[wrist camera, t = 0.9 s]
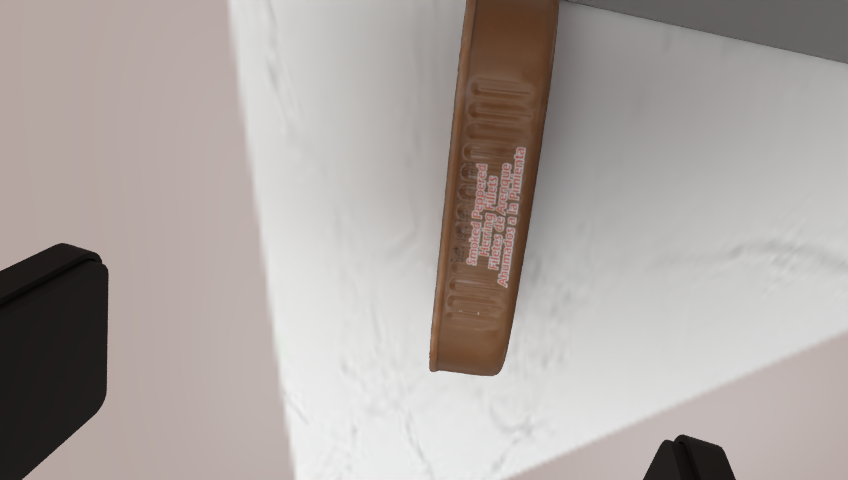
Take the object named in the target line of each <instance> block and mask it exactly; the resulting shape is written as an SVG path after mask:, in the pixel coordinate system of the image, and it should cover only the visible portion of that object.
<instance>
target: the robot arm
mask: <svg viewBox="0 0 848 480" xmlns="http://www.w3.org/2000/svg"><path fill="white" fill-rule="evenodd" d="M107 333H108V269H107V267H106V266H105V265H104V264H102V260H101V258H100V256H99V255H98V254H97V253H95V252H92V251H89V250H85V249H82V248H79V247H76V246H73V245H69V244H65V243H60V244H57V245H54V246H52V247H50V248H48V249H46V250H44V251H42V252H39V253H38V254H35V255H33V256H31V257H29V258H27V259H25V260H23V261H21V262H18V263H16V264H14V265H12V266H10V267H8V268H6V269H4V270H2V271H0V480H22V479H23V478H24V477H25V476H26V475H28V474H29V473H30V472H31V471H32V470H33V469H34V468H35V467H37V466H38V465H39V464H40V463H41V462H42V461H43V460H44V459H46V458H47V457H48V456H49V455H50V454H51V453H52V452H53V451H55V450H56V449H57V448H58V447H59V446H60V445H61V444H62V443H63V442H65V440H67V439H68V438H69V437H70V436H71V435H72V434H73V433H75V432H76V431H77V430H78V429H79V428H80V427H81V426H83V425H84V424H85V423H86V422H87V421H88V420H89V419H90V418H92V417H93V416H94V415H95V414H96V413H97V412H98V410H99V409H100V407H101V406H102V404H103V402H104V400H105V397H106V391H107V335H108V334H107ZM643 480H736V479H735V477H734V474H733V472H732V469H731V467H730V464H729V462H728V459H727V457H726V454H725V452H724V450H723V449H722V447H720V446H718V445H715V444H712V443H709V442H705V441H702V440H699V439H696V438H693V437H689V436H686V435H679V436H678V437H677V438H676V439H675V440H674V442H673V441H670V440H664V441H663V442H662V444H661V445H660V447H659V449H658V451H657V453H656V455H655V457H654V459H653V461H652V463H651V465H650V467H649V469H648V471H647V473H646V475H645V477H644V479H643Z"/></svg>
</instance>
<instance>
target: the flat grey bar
mask: <svg viewBox="0 0 848 480" xmlns="http://www.w3.org/2000/svg"><path fill="white" fill-rule="evenodd" d="M566 1H571V2H575V3H579V4H584V5H588V6H593V7H597V8H602V9H606V10H611V11H615V12H620V13H624V14H629V15H633V16H638V17H642V18H646V19H651V20H655V21H660V22H664V23H669V24H673V25H678V26H682V27H687V28H691V29H696V30H700V31H705V32H709V33H713V34H718V35H722V36H727V37H731V38H736V39H740V40H745V41H749V42H754V43H758V44H763V45H767V46H771V47H776V48H780V49H785V50H789V51H794V52H798V53H803V54H807V55H812V56H816V57H821V58H825V59H830V60H834V61H838V62H843V63H847V64H848V0H566Z"/></svg>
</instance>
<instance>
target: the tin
mask: <svg viewBox="0 0 848 480" xmlns="http://www.w3.org/2000/svg"><path fill="white" fill-rule="evenodd" d="M558 10H559V0H467V1H466V10H465V16H464V23H463V31H462V39H461V50H460V55H459V65H458V76H457V84H456V92H455V101H454V113H453V122H452V131H451V142H450V152H449V160H448V171H447V182H446V191H445V203H444V211H443V220H442V231H441V241H440V251H439V259H438V270H437V281H436V289H435V299H434V308H433V317H432V327H431V340H430V353H429V355H430V356H429V358H430V360H429V361H430V362H429V369H430V371H431V372H436V371H439V370H440V371H449V372H457V373H464V374H471V375H480V376H494V375H497V374H498V373H499V372H500V371H501V369H502V367H503V364H504V361H505V357H506V353H507V349H508V344H509V339H510V334H511V329H512V324H513V318H514V313H515V307H516V300H517V295H518V289H519V282H520V276H521V271H522V265H523V259H524V253H525V247H526V242H527V236H528V229H529V223H530V217H531V211H532V205H533V198H534V191H535V185H536V179H537V172H538V165H539V158H540V152H541V145H542V138H543V130H544V123H545V116H546V110H547V103H548V97H549V90H550V83H551V75H552V68H553V59H554V51H555V42H556V33H557V23H558Z"/></svg>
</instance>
